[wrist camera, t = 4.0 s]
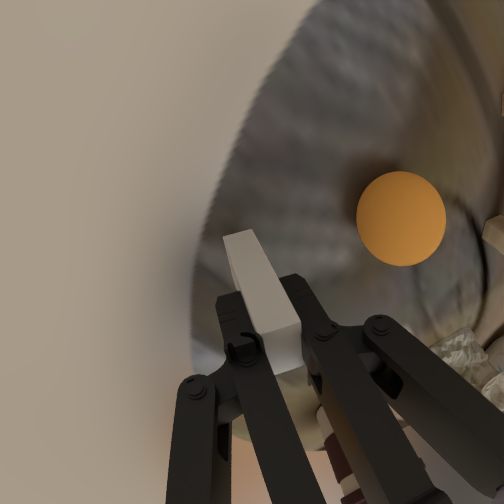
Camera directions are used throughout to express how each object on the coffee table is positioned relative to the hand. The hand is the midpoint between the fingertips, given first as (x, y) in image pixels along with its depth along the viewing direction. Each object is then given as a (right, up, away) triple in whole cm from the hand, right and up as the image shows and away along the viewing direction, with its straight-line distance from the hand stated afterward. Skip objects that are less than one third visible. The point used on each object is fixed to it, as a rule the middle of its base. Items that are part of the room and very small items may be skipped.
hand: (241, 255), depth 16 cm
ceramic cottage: (+27, -17, +22) cm, 39 cm away
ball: (+9, +2, 0) cm, 9 cm away
